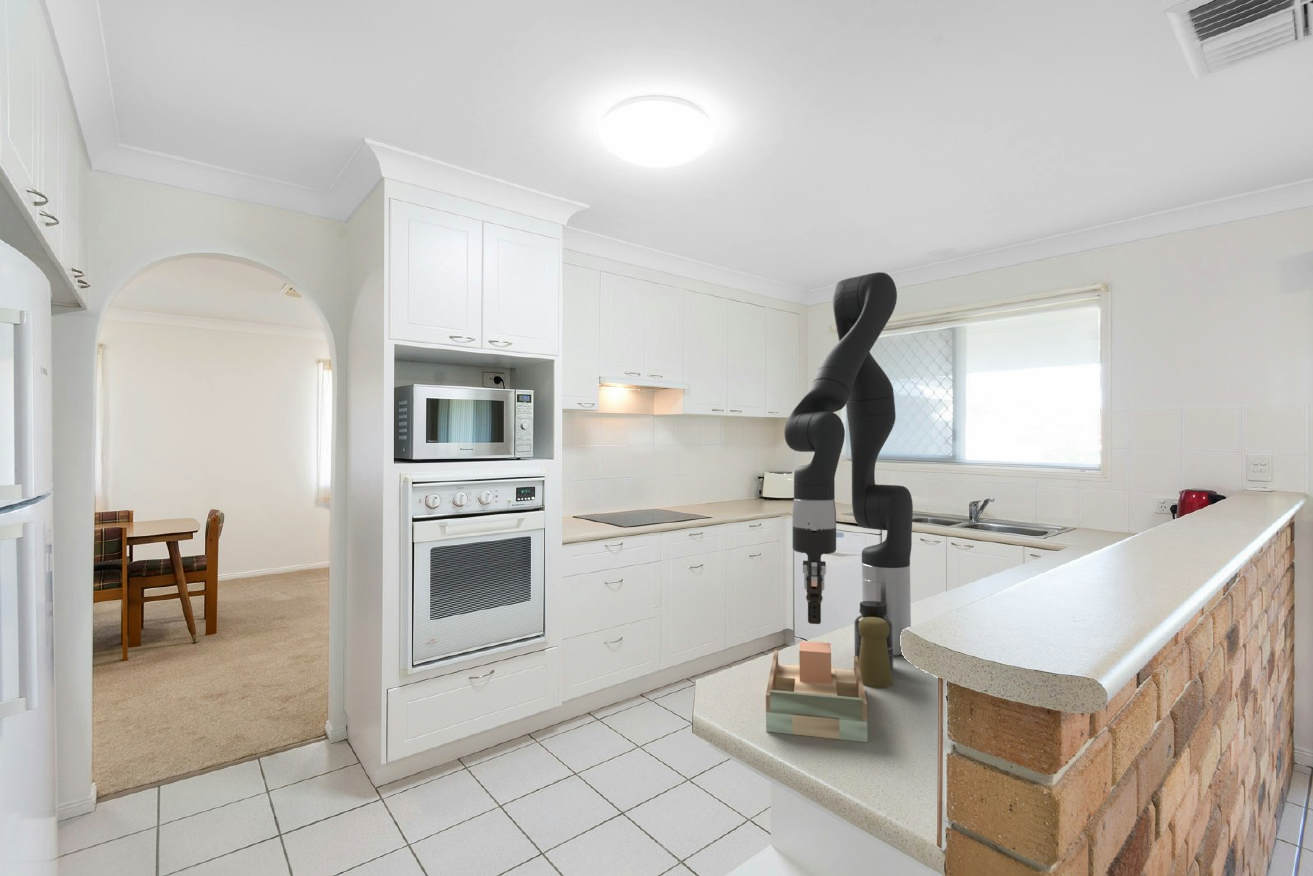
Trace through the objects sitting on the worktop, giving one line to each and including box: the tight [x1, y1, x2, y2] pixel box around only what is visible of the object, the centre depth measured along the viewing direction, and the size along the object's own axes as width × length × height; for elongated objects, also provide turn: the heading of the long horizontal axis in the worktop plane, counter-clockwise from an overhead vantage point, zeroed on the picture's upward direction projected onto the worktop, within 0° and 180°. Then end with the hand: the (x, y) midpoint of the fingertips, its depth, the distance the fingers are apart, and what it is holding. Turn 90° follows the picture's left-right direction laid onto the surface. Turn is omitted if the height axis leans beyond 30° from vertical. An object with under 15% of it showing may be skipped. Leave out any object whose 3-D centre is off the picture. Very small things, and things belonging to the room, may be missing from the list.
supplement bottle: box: [853, 601, 894, 672], centre depth 114 cm, size 7×7×12 cm
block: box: [798, 640, 832, 684], centre depth 102 cm, size 5×5×5 cm
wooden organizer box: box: [765, 649, 868, 743], centre depth 98 cm, size 20×14×6 cm
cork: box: [858, 617, 894, 689], centre depth 108 cm, size 6×6×11 cm
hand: (814, 622), depth 109 cm, fingers closed
